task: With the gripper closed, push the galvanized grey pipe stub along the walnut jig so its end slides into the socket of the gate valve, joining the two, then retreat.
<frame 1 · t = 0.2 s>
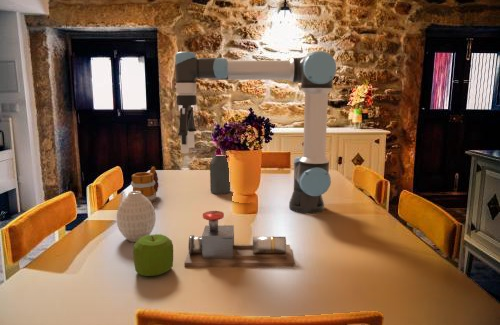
hand: (188, 150, 142), 28 cm above the table, fingers open, 13 cm apart
mug: (147, 200, 174), on the table
gate valve: (218, 256, 113), resting on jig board
vase: (137, 239, 128), on the table
pipe: (269, 244, 113), point 4 cm above the table, slide at 0.0 cm
bottle: (220, 192, 188), on the table
apple: (154, 272, 104), on the table
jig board: (239, 256, 113), on the table
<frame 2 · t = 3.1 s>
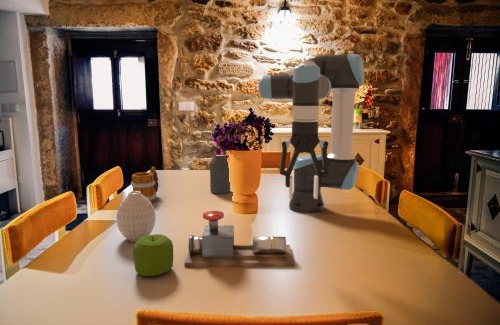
hand: (302, 197, 110), 19 cm above the table, fingers open, 7 cm apart
nothing on the table moved.
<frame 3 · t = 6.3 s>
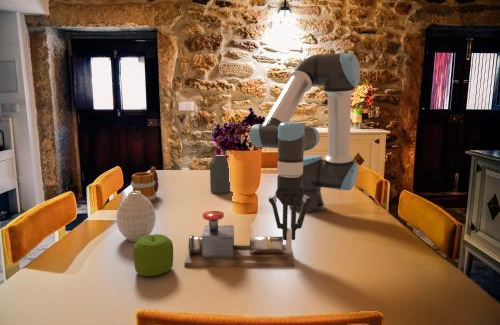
hand: (288, 249, 113), 2 cm above the table, fingers closed
pipe: (266, 244, 113), point 4 cm above the table, slide at 1.0 cm, touching gripper
everything else where it was.
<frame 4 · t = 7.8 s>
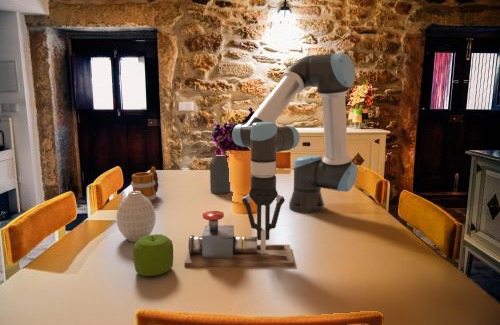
hand: (263, 249, 113), 2 cm above the table, fingers closed
pipe: (240, 244, 113), point 4 cm above the table, slide at 8.8 cm, touching gripper
everything else where it was.
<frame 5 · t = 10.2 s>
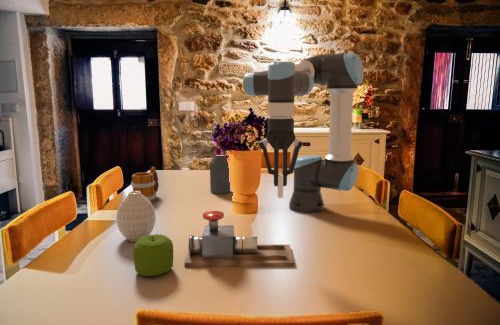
hand: (280, 196, 110), 19 cm above the table, fingers closed
pipe: (240, 244, 113), point 4 cm above the table, slide at 8.7 cm
everything else where it was.
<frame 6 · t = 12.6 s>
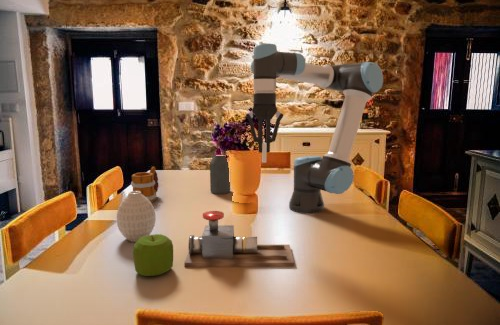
hand: (264, 161, 127), 26 cm above the table, fingers closed
nothing on the table moved.
at the end: pipe slide at 8.7 cm; pipe touching nothing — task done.
